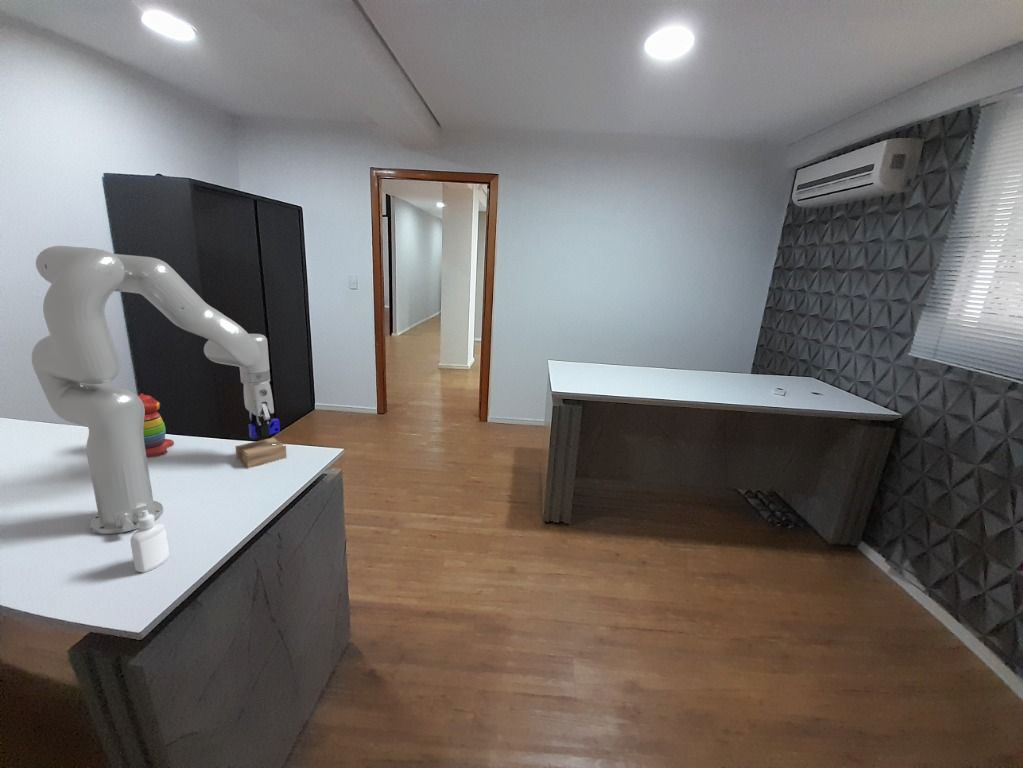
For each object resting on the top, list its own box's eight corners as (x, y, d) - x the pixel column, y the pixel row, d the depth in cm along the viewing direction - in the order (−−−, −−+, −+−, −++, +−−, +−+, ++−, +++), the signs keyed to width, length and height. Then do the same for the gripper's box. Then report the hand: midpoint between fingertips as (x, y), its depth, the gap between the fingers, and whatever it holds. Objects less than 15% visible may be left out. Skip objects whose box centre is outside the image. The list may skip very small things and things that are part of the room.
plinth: (286, 457, 135) (285, 445, 134) (248, 468, 127) (246, 455, 126) (274, 448, 141) (273, 436, 140) (236, 458, 132) (235, 445, 131)
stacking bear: (164, 456, 130) (156, 400, 126) (121, 459, 126) (112, 401, 122) (176, 442, 140) (169, 389, 135) (136, 445, 136) (128, 390, 131)
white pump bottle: (173, 563, 87) (165, 510, 84) (137, 576, 83) (127, 521, 80) (168, 552, 90) (160, 501, 87) (132, 565, 86) (123, 511, 83)
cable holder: (274, 428, 137) (273, 416, 136) (280, 431, 135) (279, 419, 134) (247, 435, 131) (246, 422, 130) (252, 438, 129) (251, 426, 128)
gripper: (281, 380, 125) (285, 439, 130) (257, 368, 135) (262, 423, 140) (252, 384, 119) (258, 445, 124) (230, 372, 129) (236, 429, 134)
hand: (260, 433), depth 132 cm, fingers closed on cable holder, 3 cm apart
